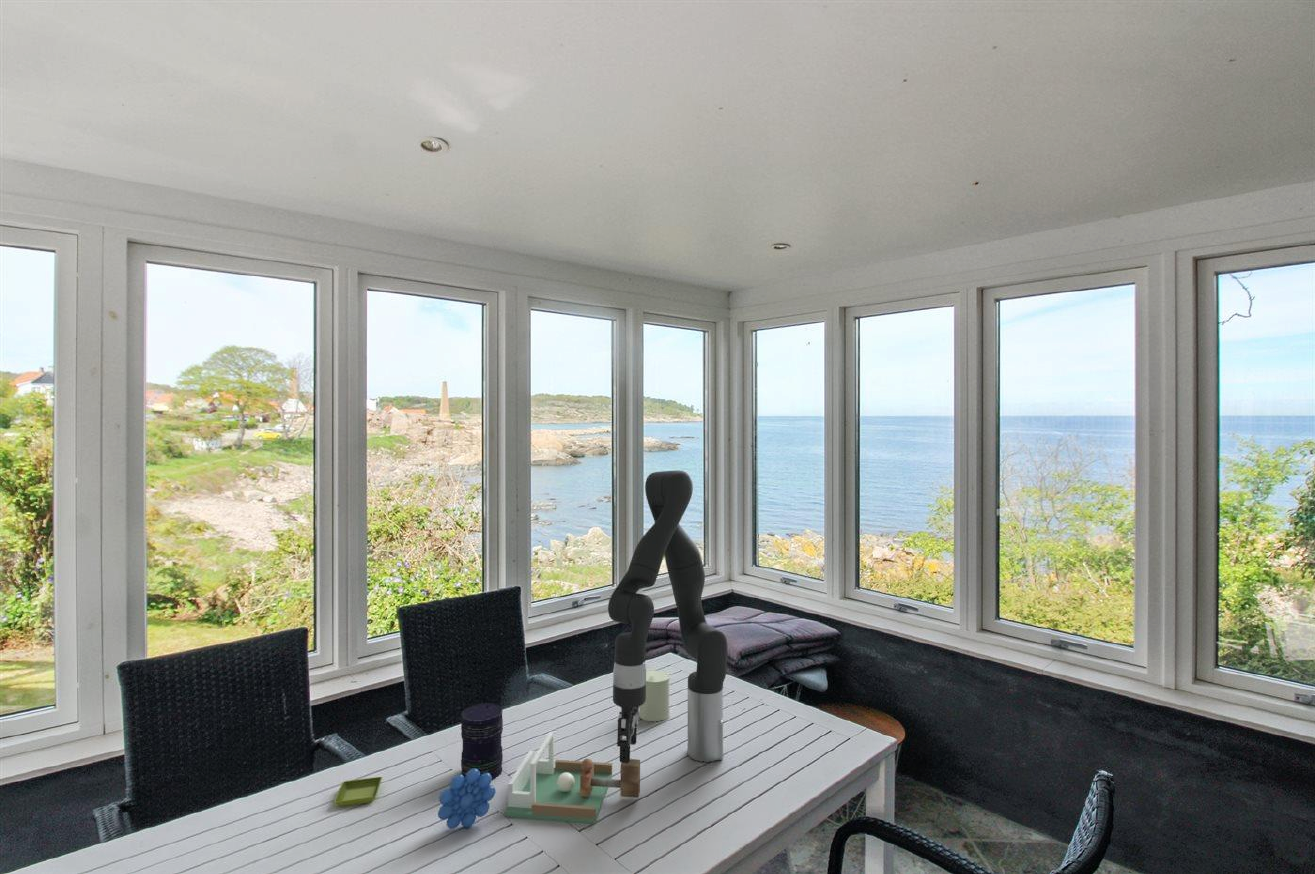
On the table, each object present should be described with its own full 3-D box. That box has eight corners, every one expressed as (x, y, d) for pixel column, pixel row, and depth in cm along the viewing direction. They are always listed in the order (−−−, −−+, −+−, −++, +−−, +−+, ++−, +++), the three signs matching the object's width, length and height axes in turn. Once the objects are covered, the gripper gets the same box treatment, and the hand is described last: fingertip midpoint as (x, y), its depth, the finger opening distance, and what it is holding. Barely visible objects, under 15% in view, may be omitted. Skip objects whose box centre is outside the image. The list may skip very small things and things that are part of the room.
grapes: (494, 810, 137) (494, 755, 137) (496, 828, 130) (496, 771, 130) (438, 819, 133) (438, 763, 133) (437, 839, 127) (437, 780, 127)
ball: (576, 786, 144) (576, 769, 144) (572, 796, 140) (572, 778, 140) (559, 785, 145) (559, 768, 145) (554, 795, 141) (554, 777, 141)
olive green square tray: (333, 811, 137) (333, 801, 137) (342, 789, 145) (342, 780, 145) (375, 805, 139) (376, 796, 139) (382, 784, 148) (382, 776, 148)
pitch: (612, 775, 151) (612, 731, 151) (595, 823, 132) (595, 772, 132) (532, 770, 153) (532, 726, 153) (504, 816, 135) (504, 766, 135)
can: (634, 719, 181) (634, 678, 182) (644, 706, 190) (644, 667, 190) (664, 723, 179) (664, 681, 179) (673, 710, 188) (673, 670, 188)
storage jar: (491, 785, 146) (491, 722, 147) (453, 781, 148) (453, 718, 148) (509, 764, 156) (509, 704, 156) (473, 760, 158) (473, 701, 158)
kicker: (640, 787, 143) (640, 756, 143) (637, 800, 138) (637, 768, 138) (584, 783, 145) (584, 753, 145) (578, 795, 140) (579, 764, 140)
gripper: (640, 694, 134) (639, 770, 133) (650, 670, 148) (649, 739, 148) (606, 691, 135) (605, 767, 134) (619, 668, 149) (618, 736, 149)
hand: (628, 752), depth 141 cm, fingers open, 8 cm apart
